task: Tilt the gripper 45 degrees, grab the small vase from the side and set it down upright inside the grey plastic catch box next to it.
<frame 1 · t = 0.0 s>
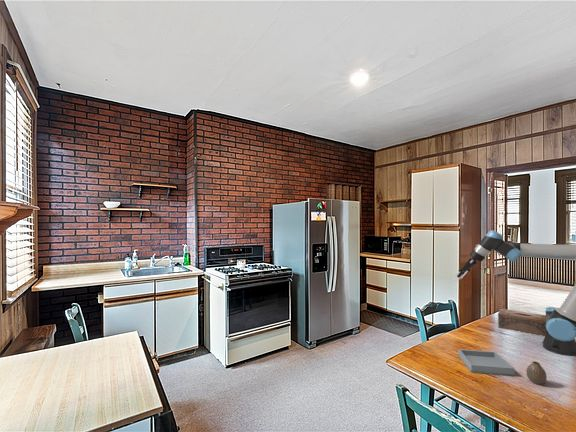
hand: (457, 279, 186), 36 cm above the table, tool tilted 35°, fingers open, 13 cm apart
catch box: (484, 365, 148), on the table
vase: (536, 382, 132), on the table
tissue box cover: (523, 329, 196), on the table
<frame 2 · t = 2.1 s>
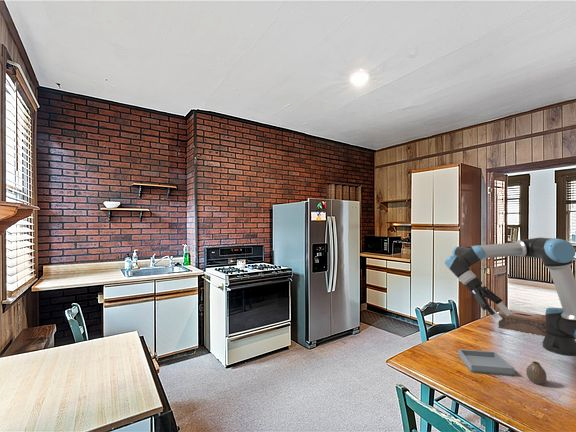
hand: (505, 317, 142), 26 cm above the table, tool tilted 45°, fingers open, 13 cm apart
nothing on the table moved.
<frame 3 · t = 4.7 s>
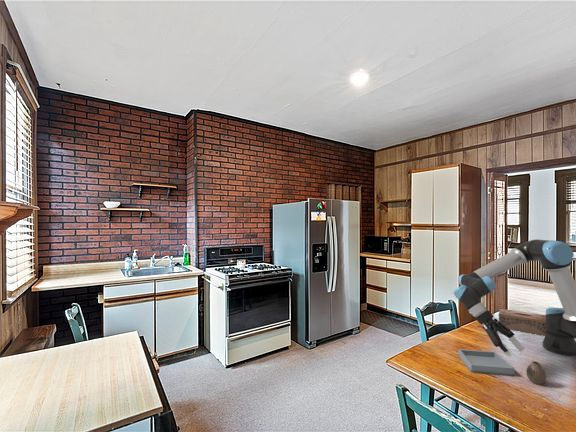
hand: (518, 354, 137), 11 cm above the table, tool tilted 45°, fingers open, 13 cm apart
nothing on the table moved.
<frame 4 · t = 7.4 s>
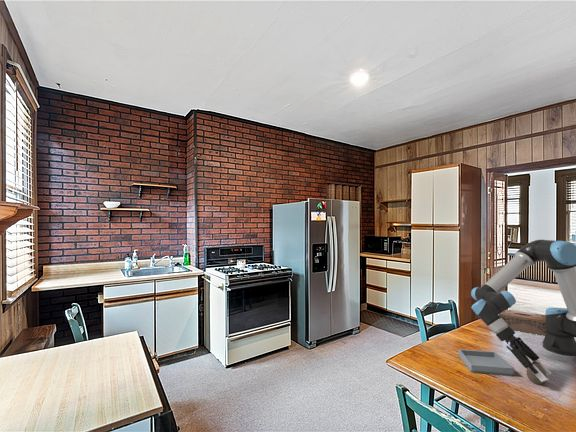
hand: (546, 377, 130), 3 cm above the table, tool tilted 45°, fingers closed on vase, 7 cm apart
vase: (536, 382, 132), on the table, touching gripper
everything else where it was.
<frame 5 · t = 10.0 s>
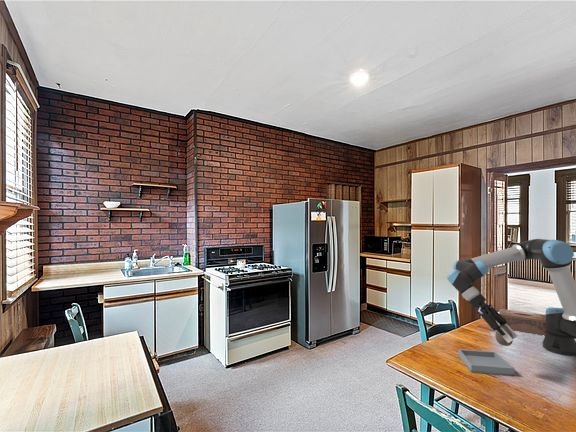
hand: (513, 339, 138), 17 cm above the table, tool tilted 45°, fingers closed on vase, 6 cm apart
vase: (504, 344, 141), point 13 cm above the table, touching gripper
everything else where it was.
when the fingers open (6 cm above the table, at t = 12.9 s): vase drops 1 cm, resting on catch box.
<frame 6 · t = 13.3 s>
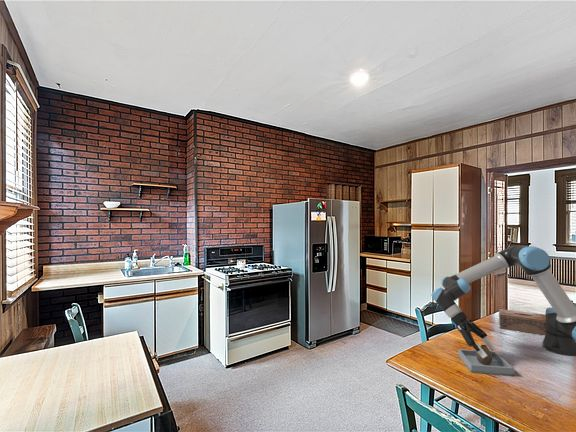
hand: (489, 353, 146), 7 cm above the table, tool tilted 45°, fingers open, 11 cm apart
vase: (484, 363, 148), point 1 cm above the table, touching catch box
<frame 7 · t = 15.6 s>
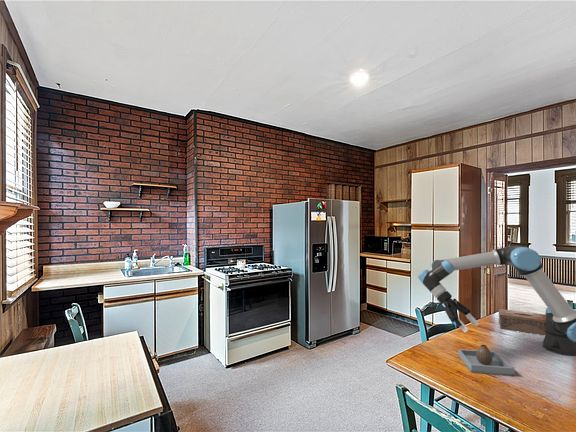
hand: (472, 328, 155), 16 cm above the table, tool tilted 45°, fingers open, 13 cm apart
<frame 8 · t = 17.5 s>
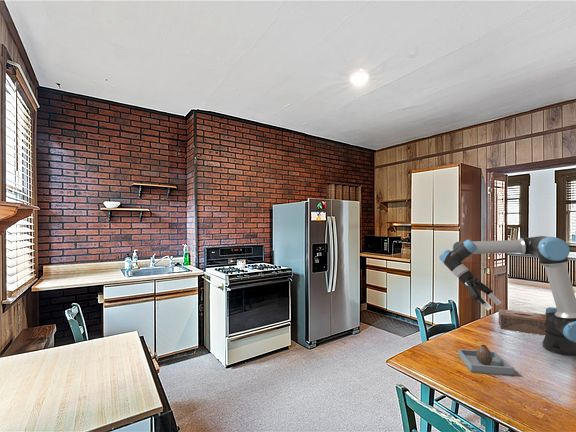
hand: (495, 306, 154), 28 cm above the table, tool tilted 45°, fingers open, 13 cm apart
at the end: vase inside the target area on the catch box (0.2 cm from its centre), point 0.8 cm above the catch box's base; vase tilted 0°; the gripper is holding nothing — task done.
